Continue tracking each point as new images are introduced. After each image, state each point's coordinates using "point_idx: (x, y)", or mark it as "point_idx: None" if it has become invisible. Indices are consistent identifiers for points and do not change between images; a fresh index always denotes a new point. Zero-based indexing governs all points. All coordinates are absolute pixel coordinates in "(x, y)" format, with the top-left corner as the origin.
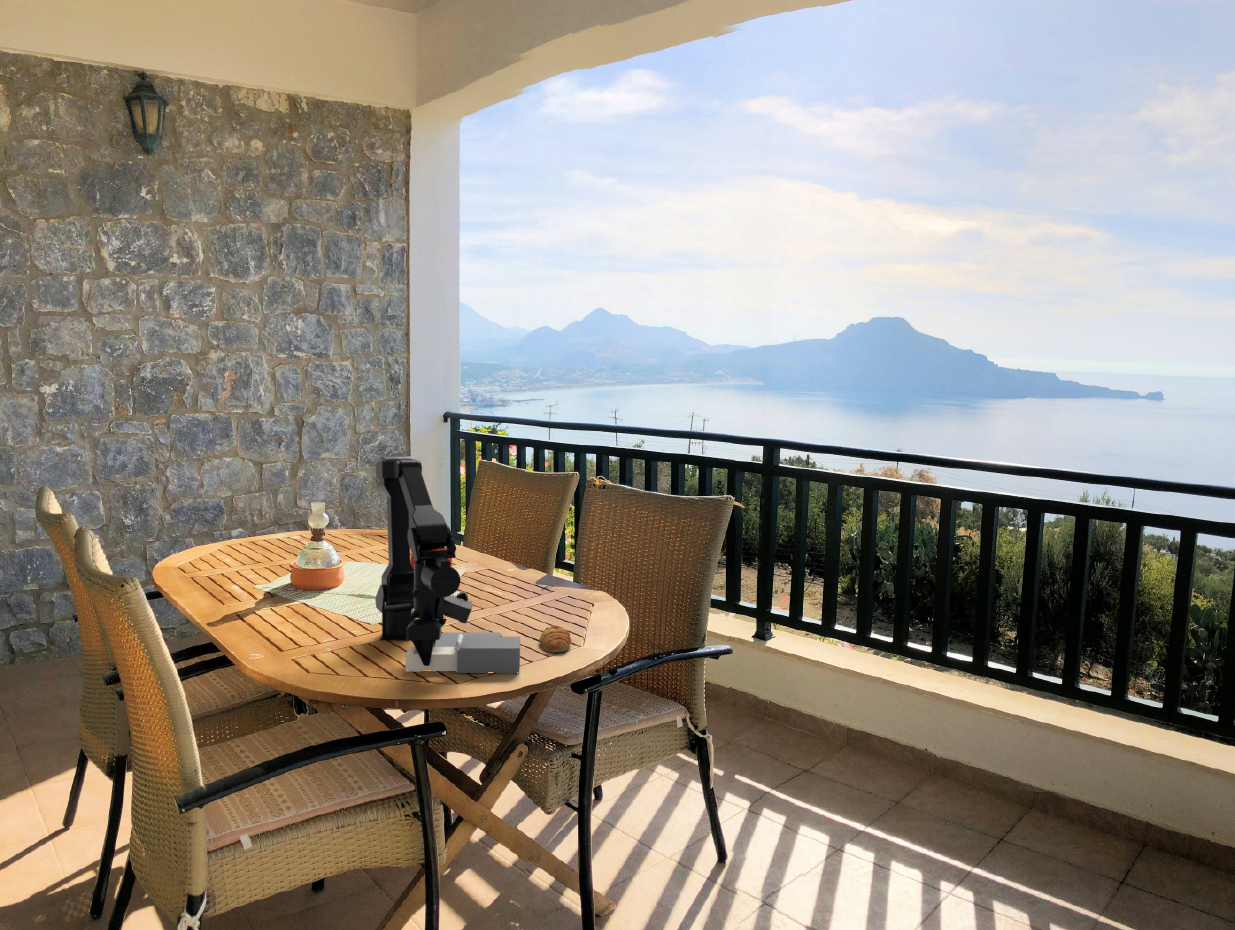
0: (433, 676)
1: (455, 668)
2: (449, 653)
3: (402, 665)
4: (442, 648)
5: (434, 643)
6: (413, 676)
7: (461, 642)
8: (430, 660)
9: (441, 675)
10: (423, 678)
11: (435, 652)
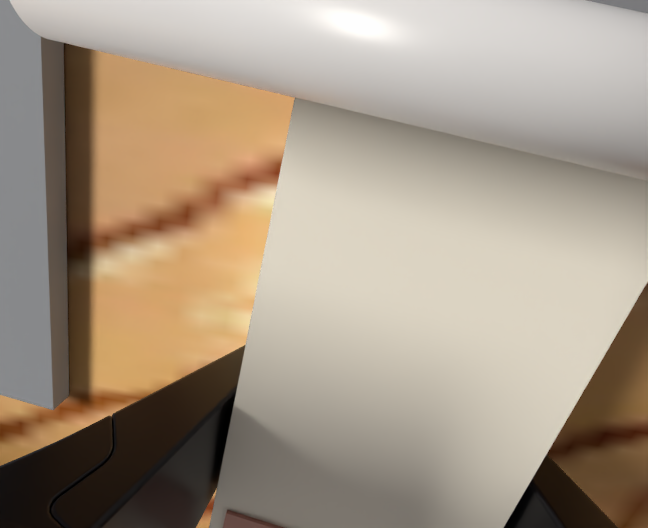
0: (626, 362)
1: None
2: (604, 272)
3: None
4: (327, 325)
5: (208, 427)
6: None
7: (640, 13)
8: None
9: None
10: (636, 439)
11: (468, 432)
